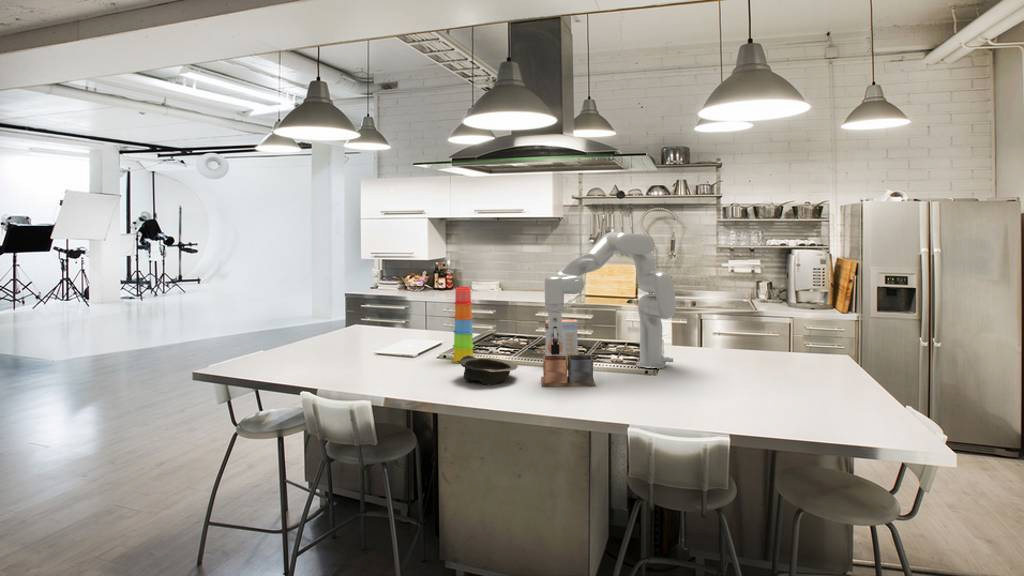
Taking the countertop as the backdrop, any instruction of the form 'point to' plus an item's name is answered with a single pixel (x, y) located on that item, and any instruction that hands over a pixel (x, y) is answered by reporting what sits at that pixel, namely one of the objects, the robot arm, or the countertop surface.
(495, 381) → the stone bowl
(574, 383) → the double bin organizer
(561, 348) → the ball
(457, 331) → the stacking cups
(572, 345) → the cracker box
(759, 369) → the countertop surface
